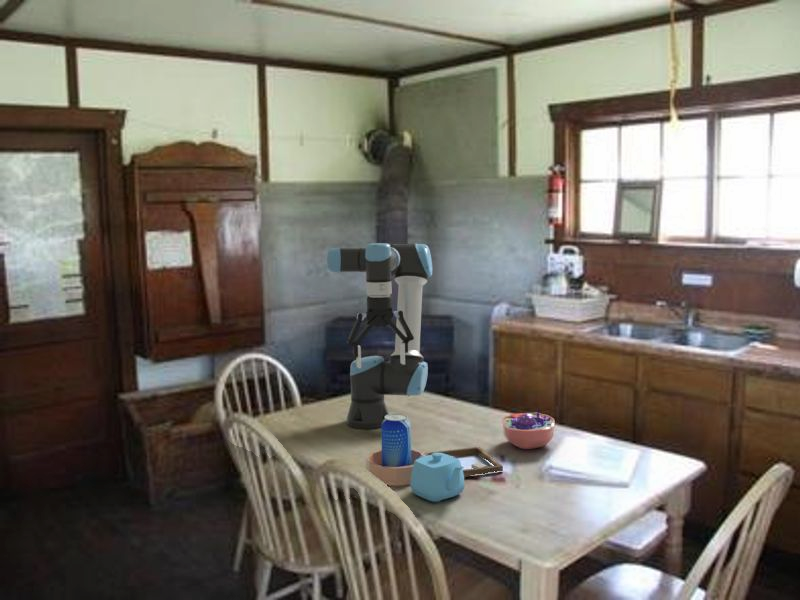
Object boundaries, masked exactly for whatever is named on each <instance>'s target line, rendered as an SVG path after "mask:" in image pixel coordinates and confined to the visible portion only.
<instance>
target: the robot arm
mask: <svg viewBox="0 0 800 600" xmlns="http://www.w3.org/2000/svg"><path fill="white" fill-rule="evenodd" d="M326 265H327V269H328V271H330V272H332V273H365V275H366V276H365V277H366V278H365V279H366V283H365V286H366V295H367V297H366V312H365V313H364V312H363V313H361V312H357V313H356V316H355V321H354V324H353V326H352V328H351V330H350V332H349V335H348V337H347V338H346V339H347V340H346V344H348V345H349V346H352V354H353V357H355V358H356V359H354V360H353V361H352V362H351V363H350V370H349V371H350V372H349V378H350V405H349V408H348V412H347V416H346V425H347V426H348V427H351V428H354V429H361V430H373V429H379V428H381V425H382V422H383V421H384V419H385V418H384V417H385V416H386V415H388V414H390V413H389V410H388V407H387V405H386V402H385V396H406V397H410V396H411V397H412V396H420V395H422V394H423V393H424V391H425V388H426V385H427V380H428V374H429V372H428V370H429V367H428V362H426V361H424V356H423V355H422V354H421V352H420V351H421V349H420V347H421V330H422V329H421V326H422V322H421V321H422V311H423V310H422V306H423V305H422V303H423V289H424V288H423V287H424V286H425V285H426V284H427V283H428V278H430V277H432V276H433V261H432V255H431V250H430V248H429V246H428V245H427V244H424V243H415V242H414V243H387V242H386V243H385V242H378V243H377V242H375V243H368V244H366V245H365V247H335V248H333V247H332V248H330V249H329V250H328V252H327V254H326ZM392 277H394V281H395V283H396V284H397V285H398V288H397V289H398V290H397V291H398V292H397V305H396V306H397V308H396V310H393V297H392V293H393V290H392V289H393V288H392ZM394 316H395V318H396V324H395V323H394V322H393V321H392V319H394V318H393V317H394ZM365 318H366V320H367V322H366V324H365V325H364V327H363V328H362V330H361V331H360V332H359V334H358V331H359V329H360V327H361V325H362V321H364V320H365ZM387 326H389V327H390V328H391V330H392V331H393V332H394V333H395V343H394V351H393V352H392V354H390V356H389V360H386V361H385V359H384V357H383V356H381V355H380V356H379V355H370V356H365V357H362V352H361V351H362V348H361V347H362V346H360V344H361V343H362V341H363V340H364V338H365V337H366V336H367V334H368V333H369V332H370V331H371V330H372V329H373V328H380V327H385V328H386V327H387Z"/></svg>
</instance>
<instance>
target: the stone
mask: <svg viewBox="0 0 800 600" xmlns="http://www.w3.org/2000/svg"><path fill="white" fill-rule="evenodd" d="M482 467H488V465H486V464H484V463H481V462H480V461H479V462H475V463H471V469H472V468H473V469H474V468H482Z"/></svg>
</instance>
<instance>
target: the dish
mask: <svg viewBox="0 0 800 600" xmlns="http://www.w3.org/2000/svg"><path fill="white" fill-rule="evenodd" d="M424 453H425V452H424V451H421V450H418V449H415V448H411V466H403V467H386V466H382V448H381V449H378V450H376V451H372V452H370V453H369V454H368V455H367V456H366V458H365V470H366V469H367V470H368V471H369V472H371V473H372V474H373V475H375V476H376V477H377V478H379V479H380V480H381V481H383V482H384V483H385V484H387V485H389V486H388V487H404V486H411V473H412V469H413V465H414V461H415V460H417V459H418V458H419V457H420V456H423V455H425V454H424ZM425 456H426V455H425Z"/></svg>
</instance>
